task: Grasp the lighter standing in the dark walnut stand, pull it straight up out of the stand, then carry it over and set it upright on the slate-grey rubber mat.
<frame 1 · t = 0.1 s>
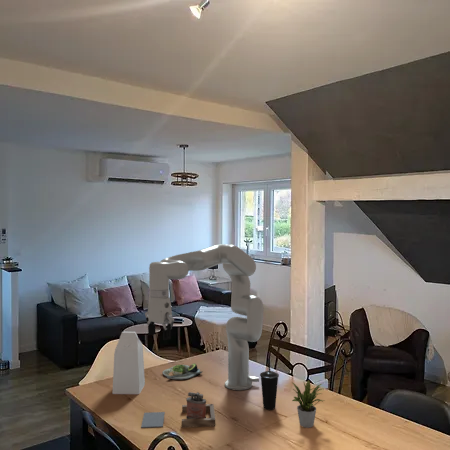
hand: (159, 337, 176), 31 cm above the table, tool pointing down, fingers open, 9 cm apart
grey mat: (153, 420, 173), on the table
salad plate: (182, 374, 224), on the table
house plant: (309, 426, 168), on the table
drinking cup: (269, 408, 184), on the table
lighter: (196, 419, 174), on the table
milk: (129, 389, 204), on the table
walnut stand: (197, 418, 174), on the table
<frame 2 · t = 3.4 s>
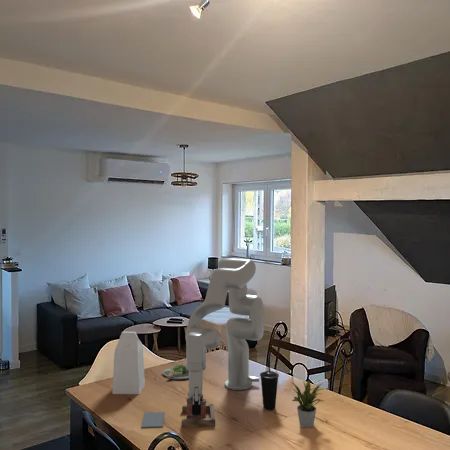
hand: (196, 411, 174), 3 cm above the table, tool pointing down, fingers closed on lighter, 4 cm apart
lighter: (196, 419, 174), on the table, touching gripper
everything else where it was.
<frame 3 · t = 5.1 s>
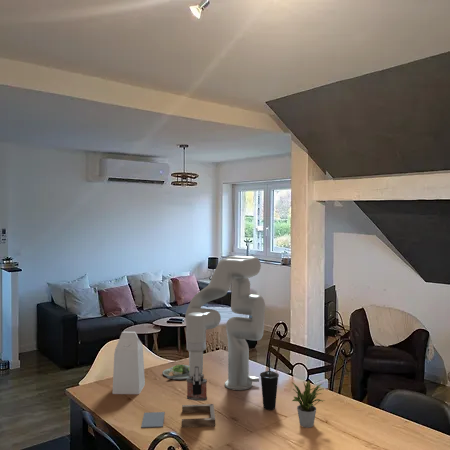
hand: (196, 391, 174), 10 cm above the table, tool pointing down, fingers closed on lighter, 4 cm apart
lighter: (196, 399, 174), point 7 cm above the table, touching gripper
everything else where it was.
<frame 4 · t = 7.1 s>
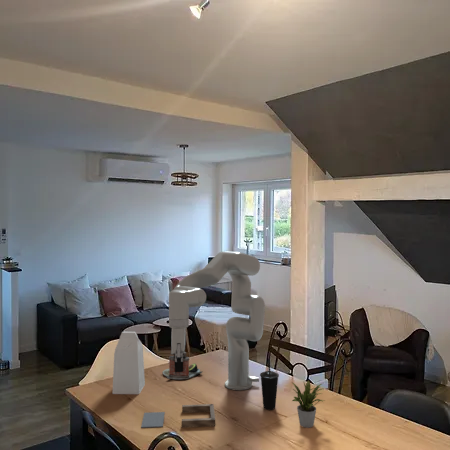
hand: (179, 369, 173), 19 cm above the table, tool pointing down, fingers closed on lighter, 4 cm apart
lighter: (179, 377, 173), point 16 cm above the table, touching gripper
everything else where it was.
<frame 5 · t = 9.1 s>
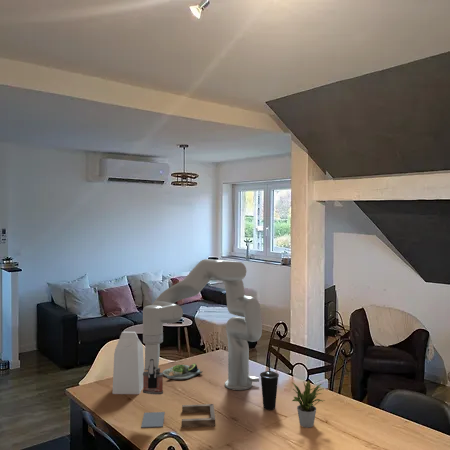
hand: (153, 384, 172), 14 cm above the table, tool pointing down, fingers closed on lighter, 4 cm apart
lighter: (152, 393, 172), point 11 cm above the table, touching gripper
everything else where it was.
when the fingers open (5 cm above the table, at t = 10.9 s): lighter drops 1 cm, resting on grey mat.
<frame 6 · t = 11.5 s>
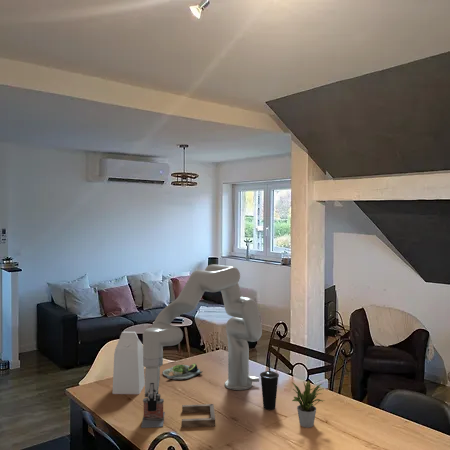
hand: (153, 405, 172), 6 cm above the table, tool pointing down, fingers open, 9 cm apart
lighter: (153, 419, 173), resting on grey mat
everything else where it was.
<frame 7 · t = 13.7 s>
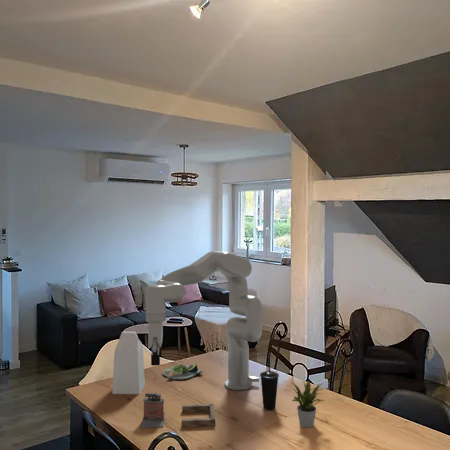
hand: (156, 360, 174), 22 cm above the table, tool pointing down, fingers open, 9 cm apart
nothing on the table moved.
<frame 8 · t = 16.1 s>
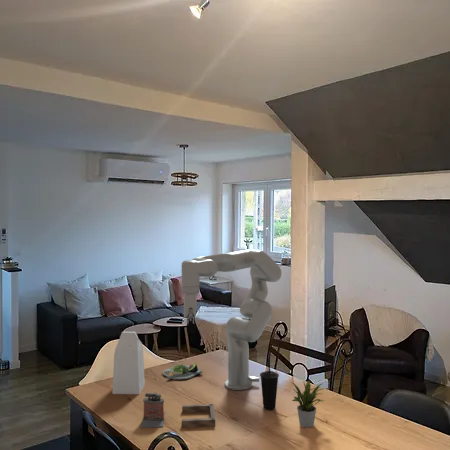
hand: (190, 330, 190), 30 cm above the table, tool pointing down, fingers open, 9 cm apart
nothing on the table moved.
at the end: lighter inside the target area on the grey mat (0.1 cm from its centre), point 0.2 cm above the grey mat's base; lighter tilted 0°; the gripper is holding nothing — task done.
